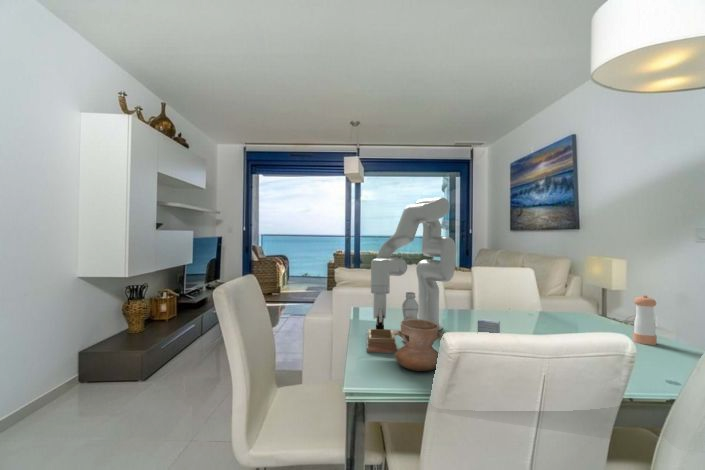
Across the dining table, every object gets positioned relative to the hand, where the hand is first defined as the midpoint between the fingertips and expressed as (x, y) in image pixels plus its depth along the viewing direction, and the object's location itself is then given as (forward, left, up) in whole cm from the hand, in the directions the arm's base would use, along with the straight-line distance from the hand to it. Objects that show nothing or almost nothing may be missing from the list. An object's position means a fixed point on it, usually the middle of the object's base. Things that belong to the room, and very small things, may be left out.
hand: (379, 334), depth 138 cm
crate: (+8, +2, -2) cm, 9 cm away
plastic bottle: (-1, +12, -3) cm, 12 cm away
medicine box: (-13, +42, -3) cm, 44 cm away
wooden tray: (+4, +1, -3) cm, 5 cm away
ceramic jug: (+22, +18, -3) cm, 29 cm away
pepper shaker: (-33, +103, -3) cm, 108 cm away
